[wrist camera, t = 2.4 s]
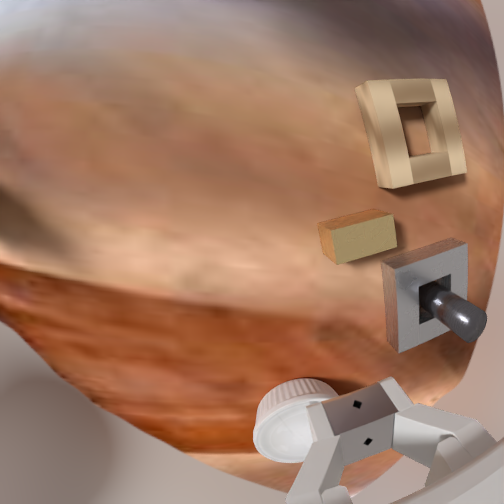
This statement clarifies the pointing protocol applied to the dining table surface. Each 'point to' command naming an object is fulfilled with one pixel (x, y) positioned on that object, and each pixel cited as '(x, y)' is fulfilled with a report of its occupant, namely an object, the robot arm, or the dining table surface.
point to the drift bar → (357, 235)
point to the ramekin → (288, 419)
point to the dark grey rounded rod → (452, 311)
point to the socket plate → (407, 292)
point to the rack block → (392, 136)
